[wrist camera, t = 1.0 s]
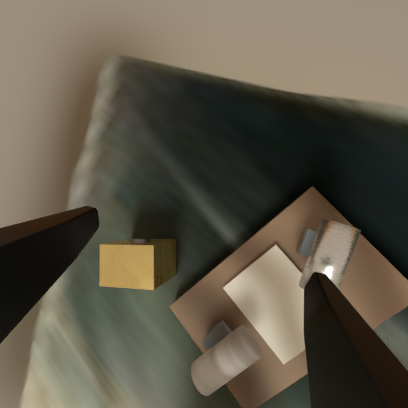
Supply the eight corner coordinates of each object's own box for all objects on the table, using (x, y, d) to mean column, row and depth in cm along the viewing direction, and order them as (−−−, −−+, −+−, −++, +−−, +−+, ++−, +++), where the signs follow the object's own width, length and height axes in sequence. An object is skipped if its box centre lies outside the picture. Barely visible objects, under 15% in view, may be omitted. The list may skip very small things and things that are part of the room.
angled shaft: (328, 288, 18) (347, 309, 14) (288, 272, 19) (295, 288, 15) (349, 229, 18) (374, 233, 14) (308, 216, 18) (320, 216, 14)
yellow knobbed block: (176, 276, 23) (153, 293, 18) (132, 274, 24) (99, 289, 19) (176, 236, 23) (153, 241, 18) (132, 235, 24) (100, 241, 19)
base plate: (247, 400, 20) (242, 467, 15) (175, 300, 23) (147, 327, 17) (409, 288, 18) (474, 321, 12) (309, 188, 20) (326, 178, 14)
